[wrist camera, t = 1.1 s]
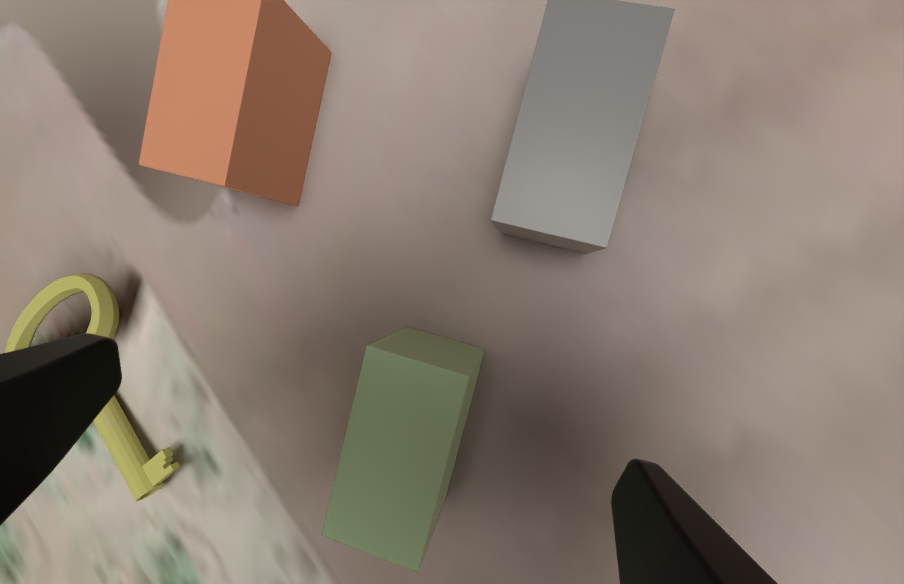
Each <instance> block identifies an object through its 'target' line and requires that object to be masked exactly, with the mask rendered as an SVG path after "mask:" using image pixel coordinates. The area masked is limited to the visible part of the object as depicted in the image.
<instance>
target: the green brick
mask: <svg viewBox="0 0 904 584" xmlns="http://www.w3.org/2000/svg"><path fill="white" fill-rule="evenodd" d="M484 352H485V349H484V348H480V347H477V346H473V345H470V344H466V343H463V342H459V341H456V340H452V339H449V338H445V337H442V336H438V335H435V334H432V333H428V332H425V331H421V330H418V329H414V328H411V327H406V328H403V329H401V330H399V331H397V332H395V333H393V334H390V335H388V336H386V337H384V338H382V339H379V340H377V341H375V342H373V343H371V344H369V345H367V346H366V350H365V354H364V358H363V363H362V367H361V371H360V375H359V379H358V384H357V388H356V392H355V396H354V400H353V405H352V409H351V413H350V417H349V422H348V426H347V430H346V434H345V438H344V443H343V447H342V451H341V455H340V459H339V464H338V468H337V472H336V476H335V481H334V485H333V489H332V493H331V497H330V502H329V506H328V510H327V514H326V518H325V523H324V527H323V531H322V536H325V537H327V538H330V539H332V540H335V541H337V542H340V543H343V544H345V545H348V546H350V547H353V548H356V549H358V550H361V551H363V552H366V553H369V554H371V555H374V556H376V557H379V558H382V559H384V560H387V561H389V562H392V563H395V564H397V565H400V566H402V567H405V568H408V569H410V570H413V571H415V572H418V571H419V568H420V565H421V563H422V560H423V557H424V555H425V552H426V549H427V547H428V544H429V541H430V539H431V536H432V533H433V531H434V528H435V525H436V523H437V520H438V517H439V515H440V512H441V509H442V507H443V504H444V501H445V499H446V495H447V491H448V488H449V484H450V480H451V476H452V473H453V469H454V465H455V461H456V457H457V454H458V450H459V446H460V442H461V439H462V435H463V431H464V427H465V423H466V420H467V416H468V412H469V408H470V405H471V401H472V397H473V393H474V389H475V386H476V382H477V378H478V374H479V371H480V367H481V363H482V359H483V355H484Z"/></svg>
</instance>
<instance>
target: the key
mask: <svg viewBox="0 0 904 584" xmlns="http://www.w3.org/2000/svg"><path fill="white" fill-rule="evenodd" d="M82 291H84V292H85V293H86V294H87V295H88V298H89V301H90V304H91V309H92V316H91V322H90V325H89V327H88V330H87V332H86V333H90V334H96V335H100V336H105V337H109V338H112V339H114V337H115V334H116V331H117V328H118V324H119V308H118V304H117V300H116V297H115V296H114V294H113V292H112V290H111V289H110V288H109V286H108V285H107V284H106V283H105V282H104V281H102V280H101V279H99V278H98V277H95V276H92V275H89V274H77V275H71V276H67V277H64V278H61V279H58V280H56V281H54V282H53V283H51V284H50V285H48V286H47V287H46V288H44V289H43V290H42V291H41V292H40V293H39V294H38V295H37V296H36V297H35V298H34V299H33V300H32V301H31V302H30V303H29V304H28V306H27V307H26V308H25V310H24V311H23V312H22V314H21V315H20V316H19V318H18V320H17V321H16V323H15V325H14V327H13V329H12V332H11V334H10V337H9V339H8V343H7V346H6V353H7V352H11V351H15V350H19V349H23V348H27V347H30V345H31V342H32V339H33V336H34V334H35V331H36V329H37V327H38V326H39V324H40V323H41V321H42V320H43V318H44V317H45V315H46V314H47V313H48V312H49V311H50V310H51V309H52V308H53V307H54V306H55V305H56V304H58V303H59V302H60V301H62V300H63V299H65V298H67V297H68V296H70V295H73V294H75V293H79V292H82ZM93 422H94V424H95V425H96V427H97V429H98V431H99V433H100V435H101V437H102V438H103V440H104V442H105V444H106V446H107V448H108V450H109V452H110V453H111V455H112V457H113V459H114V461H115V463H116V465H117V467H118V468H119V470H120V472H121V474H122V476H123V478H124V480H125V482H126V483H127V485H128V487H129V489H130V491H131V493H132V495H133V497H134V498H135V500H136V501H139V500H142V499H144V498H146V497H148V496H149V495H151V494H153V493H154V492H156V491H157V490H159V489H160V488H161V487H162V486H163V483H162V481H163V480H165V479H166V478H167V477H168V476H170V475H171V474H172V473H173V472H175V471H176V470H177V469H178V468H179V467H180V465H179V463H178V462H176V463H174V464H170V462H171V461H173V458H172V455H173V453H172V451H171V449H170V447H169V448H166V449H163V450H161V451H160V452H159V453H158V454H156V455H155V456H154V457H153V458H152V459H149V457H148V456H147V454H146V452H145V450H144V448H143V447H142V445H141V443H140V441H139V439H138V437H137V436H136V434H135V432H134V430H133V428H132V427H131V425H130V423H129V421H128V419H127V417H126V416H125V414H124V412H123V410H122V408H121V407H120V405H119V403H118V401H117V399H116V397H115V396H113V397H112V398H111V400H110V401H109V402H108V403H107V405H106V406H105V407H104V408H103V409H102V411H101V412H100V413H99V414H98V416H97V417H96V418H95V419H94V421H93Z"/></svg>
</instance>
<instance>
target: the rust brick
mask: <svg viewBox="0 0 904 584" xmlns="http://www.w3.org/2000/svg"><path fill="white" fill-rule="evenodd" d="M330 57H331V52H330V50H329V49H328V48H327V47H326V46H325V45H324V44H323V43H322V42H321V41H320V40H319V38H318V37H317V36H316V35H315V34H314V33H313V32H312V31H311V30H310V29H309V28H308V26H307V25H306V24H305V23H304V22H303V21H302V20H301V19H300V18H299V17H298V15H297V14H296V13H295V12H294V11H293V10H292V9H291V8H290V7H289V6H288V5H287V3H286V2H285V1H284V0H168V4H167V10H166V15H165V21H164V26H163V32H162V38H161V43H160V49H159V54H158V61H157V66H156V71H155V77H154V83H153V88H152V94H151V99H150V105H149V110H148V116H147V121H146V127H145V133H144V139H143V144H142V149H141V155H140V161H139V165H142V166H146V167H150V168H153V169H157V170H161V171H164V172H168V173H172V174H175V175H179V176H183V177H187V178H191V179H194V180H198V181H202V182H205V183H209V184H213V185H216V186H220V187H224V188H227V189H231V190H235V191H239V192H243V193H247V194H251V195H255V196H259V197H263V198H267V199H271V200H275V201H279V202H283V203H287V204H291V205H295V206H299V201H300V197H301V192H302V187H303V183H304V178H305V173H306V169H307V164H308V160H309V155H310V150H311V146H312V141H313V136H314V132H315V127H316V122H317V118H318V113H319V108H320V104H321V99H322V95H323V90H324V85H325V81H326V76H327V71H328V67H329V62H330Z"/></svg>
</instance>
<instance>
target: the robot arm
mask: <svg viewBox="0 0 904 584" xmlns="http://www.w3.org/2000/svg"><path fill="white" fill-rule="evenodd" d="M121 380H122V373H121V366H120V358H119V351H118V345H117V343H116V342H115V340H113V339H112V338H109V337H105V336H100V335H96V334H90V333H85V334H80V335H76V336H72V337H68V338H64V339H60V340H56V341H52V342H48V343H44V344H40V345H35V346H31V347H27V348H23V349H19V350H15V351H11V352H7V353H3V354H0V525H1V524H2V523H3V522H4V521H5V520H6V519H7V518H8V517H9V516H10V515H11V514H12V513H13V512H14V511H15V510H16V509H17V508H18V507H19V506H20V505H21V504H22V503H23V502H24V501H25V500H26V498H27V497H28V496H29V495H30V494H31V493H32V492H33V491H34V490H35V489H36V488H37V487H38V486H39V485H40V484H41V483H42V482H43V481H44V480H45V478H46V477H47V476H48V475H49V474H50V473H51V472H52V471H53V470H54V468H55V467H56V466H57V465H58V464H59V463H60V461H61V460H62V459H63V458H64V457H65V455H66V454H67V453H68V452H69V450H70V449H71V448H72V447H73V445H74V444H75V443H76V442H77V441H78V439H79V438H80V437H81V436H82V434H83V433H84V432H85V431H86V429H87V428H88V427H89V426H90V424H91V423H92V422H93V421H94V419H95V418H96V417H97V416H98V414H99V413H100V412H101V411H102V409H103V408H104V407H105V406H106V405H107V403H108V402H109V401H110V400H111V398H112V397H113V396H114V395H115V393H116V392H117V390H118V389H119V387H120V384H121ZM611 504H612V514H613V523H614V532H615V542H616V551H617V560H618V569H619V578H620V584H777V583H776V582H775V581H774V580H773V579H772V578H771V577H770V576H769V575H768V574H767V573H766V572H765V571H764V570H763V569H762V568H761V567H760V566H759V565H758V564H757V563H756V562H755V561H754V560H753V559H752V558H751V557H750V556H749V555H748V554H747V553H746V552H745V551H744V550H743V549H742V548H741V547H740V546H739V545H738V544H737V543H736V542H735V541H734V540H733V539H732V538H731V537H730V536H729V535H728V534H727V533H726V532H725V531H724V530H723V529H722V528H721V527H720V526H719V525H718V524H717V523H716V522H715V521H714V520H713V519H712V518H711V517H710V516H709V515H708V514H707V513H706V512H705V511H704V510H703V509H702V508H701V507H700V506H699V505H698V504H697V503H696V502H695V501H694V500H693V499H692V498H691V497H690V496H689V495H688V494H687V493H686V492H685V491H684V490H683V489H682V488H681V487H680V486H679V485H678V484H677V483H676V482H675V481H674V480H673V479H672V478H671V477H670V476H669V475H668V474H667V473H666V472H665V471H664V470H663V469H662V468H661V467H660V466H659V465H657V464H656V463H653V462H649V461H644V460H640V459H633V460H631V461H630V462H629V463H628V464H627V466H626V468H625V470H624V472H623V473H622V475H621V477H620V479H619V480H618V482H617V484H616V486H615V488H614V490H613V493H612V499H611Z"/></svg>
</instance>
